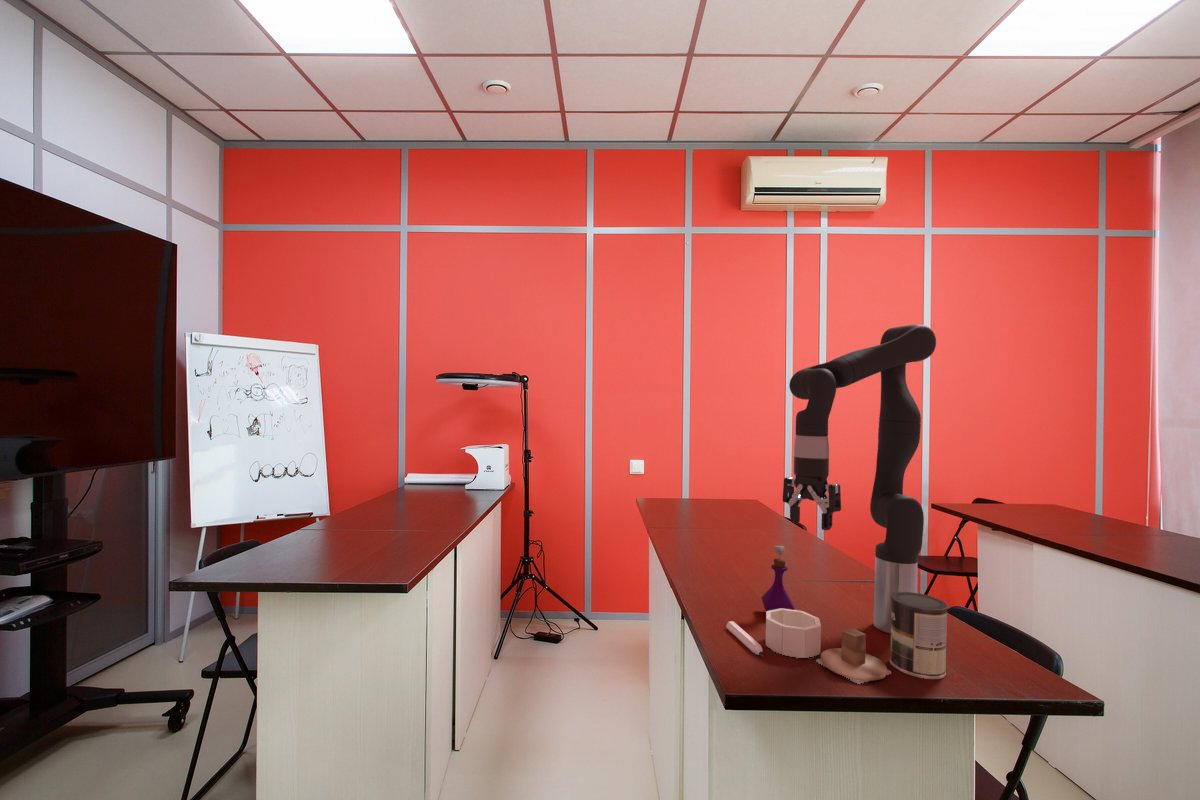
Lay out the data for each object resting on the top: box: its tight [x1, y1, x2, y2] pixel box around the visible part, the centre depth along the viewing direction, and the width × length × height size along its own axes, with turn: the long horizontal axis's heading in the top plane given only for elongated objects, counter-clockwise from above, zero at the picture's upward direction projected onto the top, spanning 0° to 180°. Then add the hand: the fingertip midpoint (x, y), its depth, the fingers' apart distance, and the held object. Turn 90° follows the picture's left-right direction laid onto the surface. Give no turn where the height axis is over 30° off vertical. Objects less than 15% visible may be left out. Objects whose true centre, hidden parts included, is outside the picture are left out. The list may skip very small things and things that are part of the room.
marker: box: [725, 620, 764, 657], centre depth 122 cm, size 3×2×16 cm
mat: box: [816, 657, 892, 685], centre depth 112 cm, size 10×10×1 cm
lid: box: [820, 628, 888, 682], centre depth 112 cm, size 12×12×7 cm
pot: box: [765, 608, 822, 659], centre depth 121 cm, size 11×11×6 cm
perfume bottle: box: [761, 545, 796, 612], centre depth 139 cm, size 8×8×18 cm
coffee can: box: [889, 592, 949, 680], centre depth 113 cm, size 10×10×14 cm
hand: (810, 525), depth 124 cm, fingers open, 8 cm apart
